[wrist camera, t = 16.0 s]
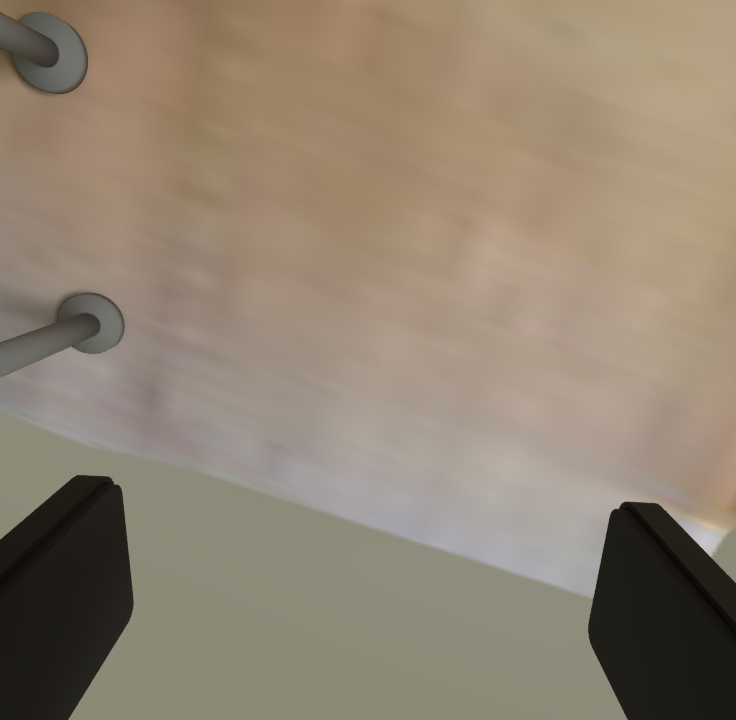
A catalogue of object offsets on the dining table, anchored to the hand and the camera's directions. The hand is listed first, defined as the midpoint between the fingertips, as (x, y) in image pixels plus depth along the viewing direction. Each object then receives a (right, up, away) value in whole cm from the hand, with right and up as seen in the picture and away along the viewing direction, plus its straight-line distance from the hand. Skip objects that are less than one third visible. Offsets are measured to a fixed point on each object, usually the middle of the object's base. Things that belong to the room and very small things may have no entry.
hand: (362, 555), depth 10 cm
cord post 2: (-23, +7, +33) cm, 41 cm away
